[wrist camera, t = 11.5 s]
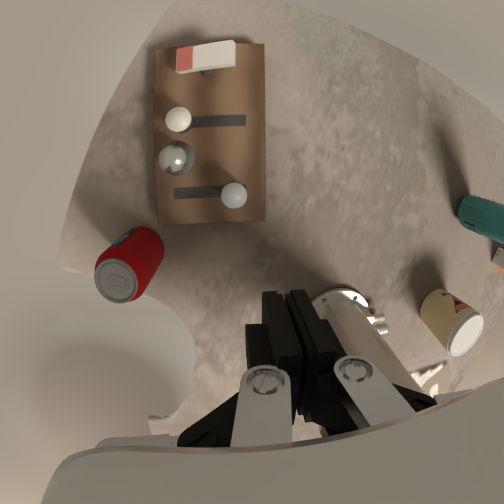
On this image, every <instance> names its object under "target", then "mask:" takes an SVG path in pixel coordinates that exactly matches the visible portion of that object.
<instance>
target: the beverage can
mask: <svg viewBox="0 0 504 504" xmlns="http://www.w3.org/2000/svg"><path fill="white" fill-rule="evenodd" d="M163 256H164V247H163V243H162V241H161V239H160V237H159V236H158V235H157V234H156V233H155V232H154V231H152V230H150V229H148V228H144V227H137V228H134V229H131V230H130V231H128V232H127V233H126V234H125V235H123V236H122V237H121V238H120V239H118V240H117V241H116V242H115V243H114V244H112V245H111V246H110V247H109V248H108V249H107V250H106V251H104V252H103V253H102V254H101V255H100V257H99V258H98V260H97V262H96V266H95V276H94V279H95V284H96V286H97V289H98V290H99V292H100V293H101V295H103V297H105V298H106V299H107V300H109V301H111V302H114V303H126V302H130V301H133V300H135V299H137V298H139V297H140V296H141V295H142V294H143V292H144V291H145V289H146V287H147V286H148V284H149V282H150V281H151V279H152V277H153V275H154V274H155V272H156V270H157V268H158V267H159V265H160V263H161V261H162V259H163Z"/></svg>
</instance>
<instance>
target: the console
mask: <svg viewBox="0 0 504 504" xmlns="http://www.w3.org/2000/svg"><path fill="white" fill-rule="evenodd" d="M192 46H197V45H192ZM184 47H188V46H182V47H173V48H165V49H158V50H156V59H155V78H154V163H155V184H156V199H157V212H158V224H159V225H172V224H194V223H222V222H257V221H265V63H264V44H248V43H236V49H235V66H233V67H224V68H216V69H209V70H202V71H196V72H190V73H185V74H179V73H177V72H176V55H177V49H179V48H184ZM175 107H184V108H186V109H187V110H188V111H189V112H190V114H191V115H192V116H193V118H194V124H193V127H192V128H191V129H190V130H189V131H188V132H185V133H178V132H175V131H172V130H170V129H169V128H168V127H167V125H166V121H165V120H166V115H167V113H168V112H169V111H170V110H171V109H173V108H175ZM169 145H176V146H180V147H182V148H184V149H185V150H186V152H187V154H188V162H187V165H186V166H185V167H184V168H183V169H182V170H180V171H177V172H173V173H170V172H166V171H164V170H163V169H162V168H161V166H160V164H159V154H160V152H161V151H162V150H163V149H164V148H165V147H167V146H169ZM231 181H237V182H240V183H241V184H242V185H243V186H244V188H245V189H246V191H247V200H246V202H245V203H244V204H243V205H242V206H241V207H239V208H229V207H227V206H226V205H225V204H224V203H223V201H222V199H221V193H222V190H223V188H224V186H225V185H226V184H227V183H228V182H231Z"/></svg>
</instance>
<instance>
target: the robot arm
mask: <svg viewBox="0 0 504 504" xmlns="http://www.w3.org/2000/svg"><path fill="white" fill-rule="evenodd" d="M384 320H385V316H384V314H383V313H382V314H376V315H372V314H370V312H369V307H368V304H367V302H366V300H365V299H364V298H363V297H362V295H361V294H360V293H358V292H356V291H355V290H352V289H348V288H336V289H332V290H328V291H326V292H324V293H322V294H320V295H319V296H317V297H316V298H314V299H313V300H312V301H311V300H310V299H309V297H308V295H307V293H306V291H305V290H291V291H290V294H286V295H285V301H284V298H283V296H282V294H277V291H266V292H262V324H245V337H246V358H247V369H248V370H247V371H246V372H245V373H244V374H243V376H242V378H241V382H240V388H239V392H237V393H236V394H235V395H234V396H232V397H231V398H230V399H228V400H227V401H226V402H224V403H223V404H221V405H220V406H219V407H217V408H216V409H215V410H213V411H212V412H210V413H209V414H208V415H206V416H205V417H203V418H202V419H200V420H199V421H198V422H196V423H195V424H193V425H192V426H190V427H189V428H187V429H186V430H185V431H184V432H182V433H181V434H180V435H179V436H171V437H170V435H169V434H161V435H151V436H138V437H119V438H108V439H104V440H102V441H101V442H99V443H98V444H97V446H96V447H95V448H93V449H88V450H84V451H80V452H77V453H74V454H72V455H70V456H69V457H67V458H66V459H65V460H64V461H62V463H61V464H60V465H59V466H58V468H57V469H56V471H55V472H54V474H53V476H52V478H51V480H50V482H49V484H48V486H47V488H46V491H45V494H44V495H43V498H42V501H41V504H504V378H500V379H497V380H494V381H491V382H488V383H486V384H484V385H481V386H479V387H477V388H474V389H469V390H463V391H458V392H452V393H446V394H440V395H434V397H433V398H432V397H430V396H428V394H427V393H426V392H424V391H423V389H422V388H421V387H420V386H419V385H418V384H417V382H416V381H415V380H414V379H413V378H412V376H411V375H410V374H409V372H408V371H407V370H406V368H405V367H404V366H403V364H402V363H401V362H400V360H399V359H398V358H397V356H396V355H395V353H394V352H393V351H392V349H391V348H390V347H389V345H388V344H387V343H386V341H385V340H384V339H383V337H382V336H381V334H386V333H387V332H388V326H387V324H386V323H383V324H377V325H373V322H381V321H384ZM296 408H297V412H298V415H303V416H304V420H305V423H306V422H314V423H316V424H318V425H319V431H320V434H321V435H322V438H316V439H310V440H304V441H297V442H292V425H293V424H294V420H295V414H296Z"/></svg>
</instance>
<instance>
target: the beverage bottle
mask: <svg viewBox="0 0 504 504" xmlns="http://www.w3.org/2000/svg"><path fill="white" fill-rule="evenodd" d="M458 215H459V221H460V223H461V224H462V225H463V226H464V227H465V228H467V229H470V230H472V231H474V232H476V233H477V234H480V235H481V234H482V235H484V236H485V237H486V238H487V237H488V238H490V239H493V240H495V241H497V242H499V243H502V244H503V245H504V205H502V204H499V203H496V202H495V201H489V199H488V200H486V199H482V198H480V197H475V195H474V196H470V195H469V196H466V197H465V198H464V199H463V200H462V202H461V204H460V206H459V212H458Z"/></svg>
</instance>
